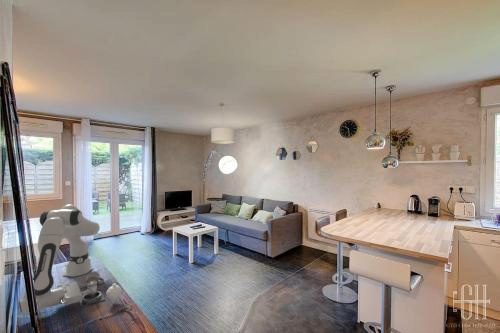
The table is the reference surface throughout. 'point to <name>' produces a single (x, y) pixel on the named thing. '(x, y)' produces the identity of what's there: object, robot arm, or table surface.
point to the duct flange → (91, 300)
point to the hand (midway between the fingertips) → (88, 287)
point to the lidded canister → (92, 289)
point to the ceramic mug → (94, 277)
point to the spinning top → (113, 292)
